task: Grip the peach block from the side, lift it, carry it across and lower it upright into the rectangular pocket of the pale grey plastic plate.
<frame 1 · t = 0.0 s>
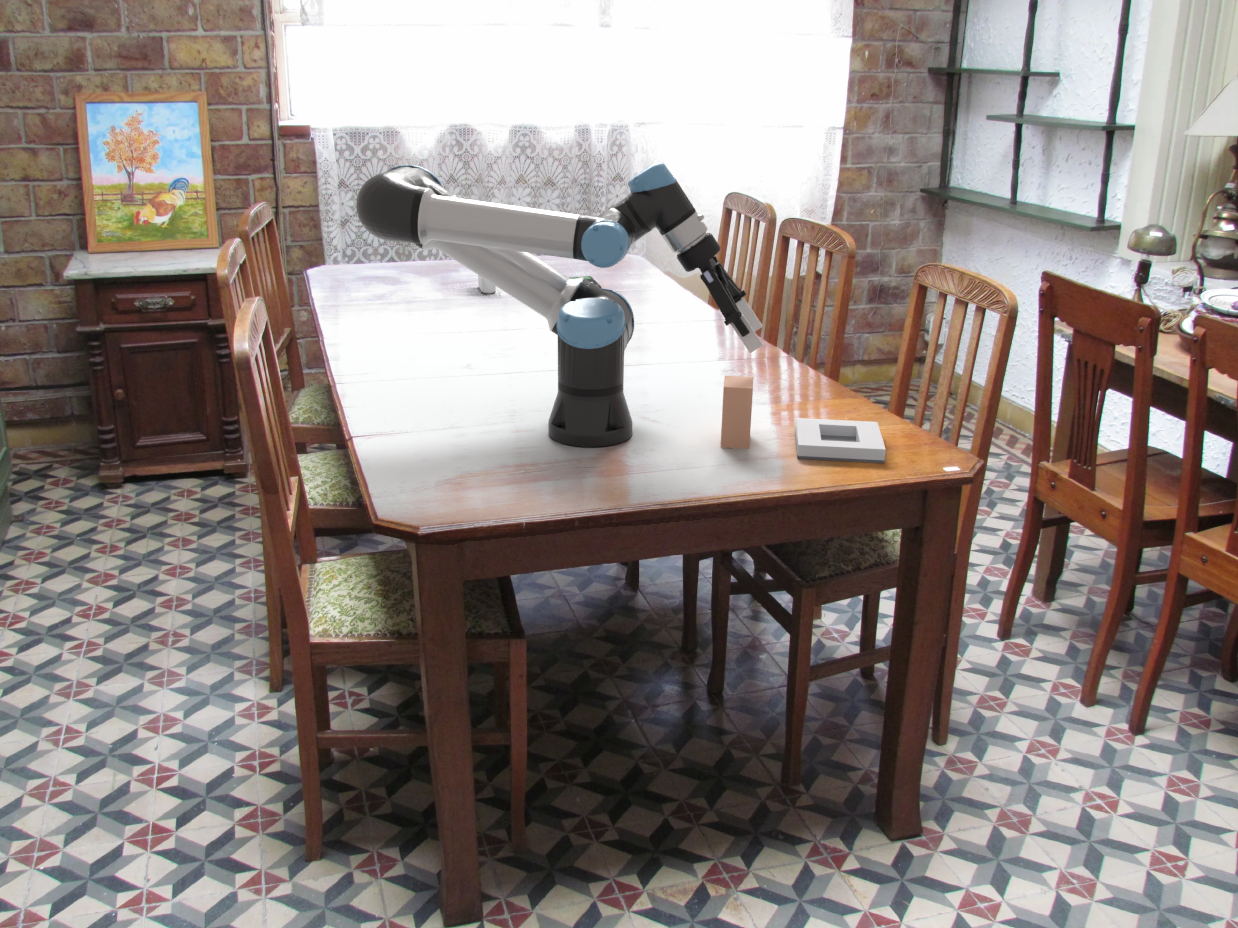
hand: (756, 339, 209), 15 cm above the table, tool tilted 35°, fingers open, 13 cm apart
disk drive: (578, 292, 319), on the table
pocket plate: (837, 446, 201), on the table
peach block: (735, 441, 202), on the table
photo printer: (487, 290, 317), on the table
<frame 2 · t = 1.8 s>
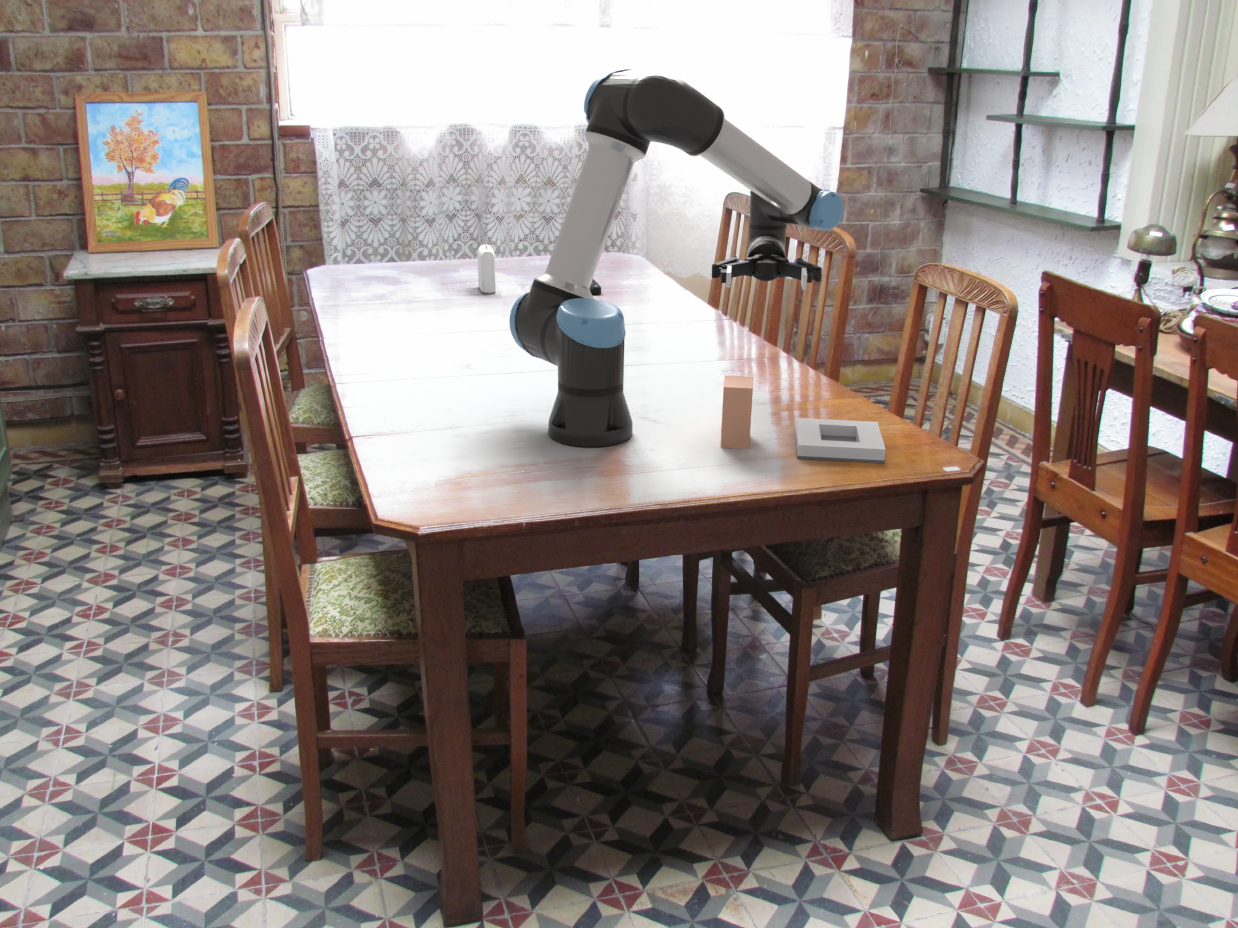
hand: (766, 281, 204), 26 cm above the table, tool horizontal, fingers open, 13 cm apart
nothing on the table moved.
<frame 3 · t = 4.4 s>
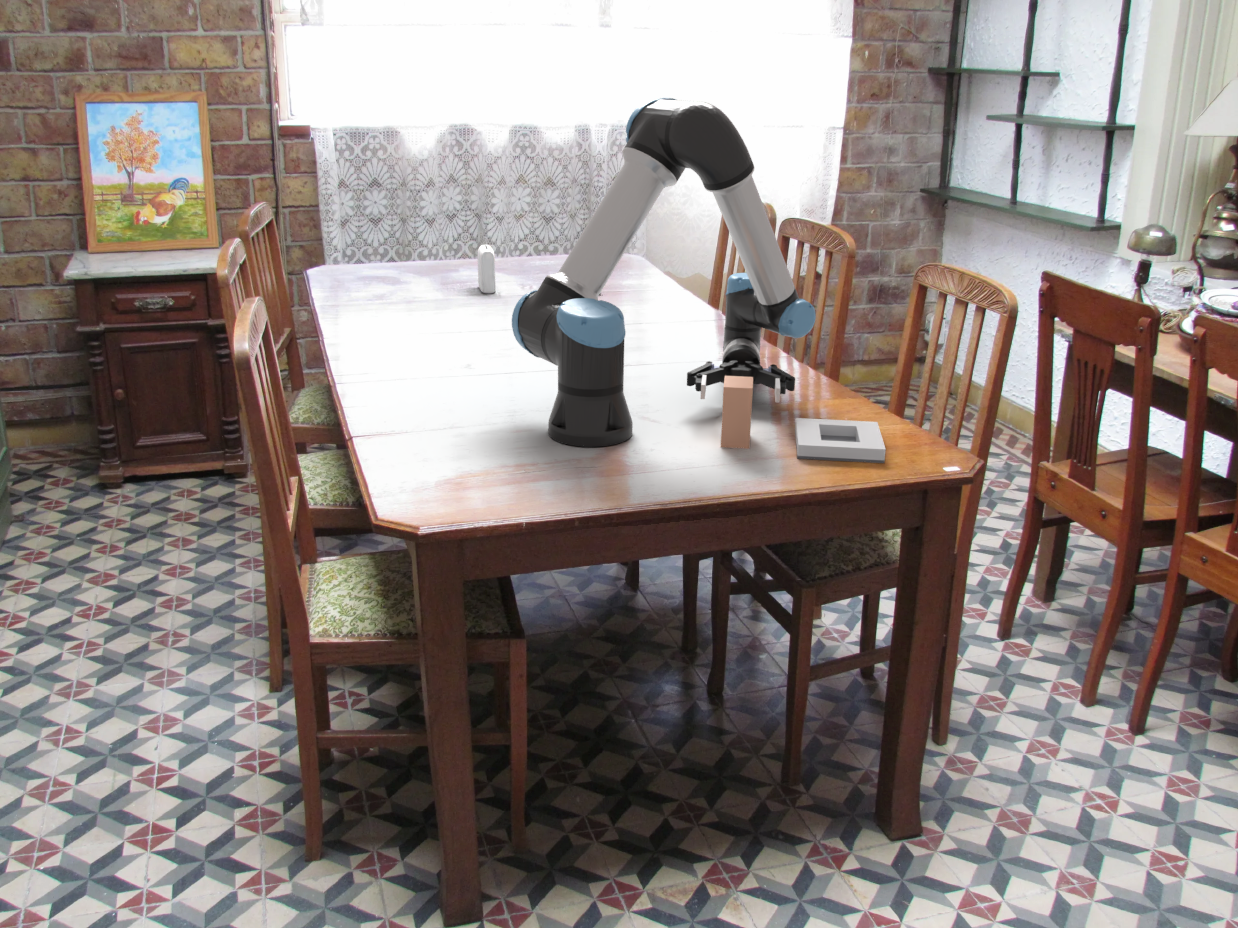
hand: (740, 393, 207), 6 cm above the table, tool horizontal, fingers open, 13 cm apart
nothing on the table moved.
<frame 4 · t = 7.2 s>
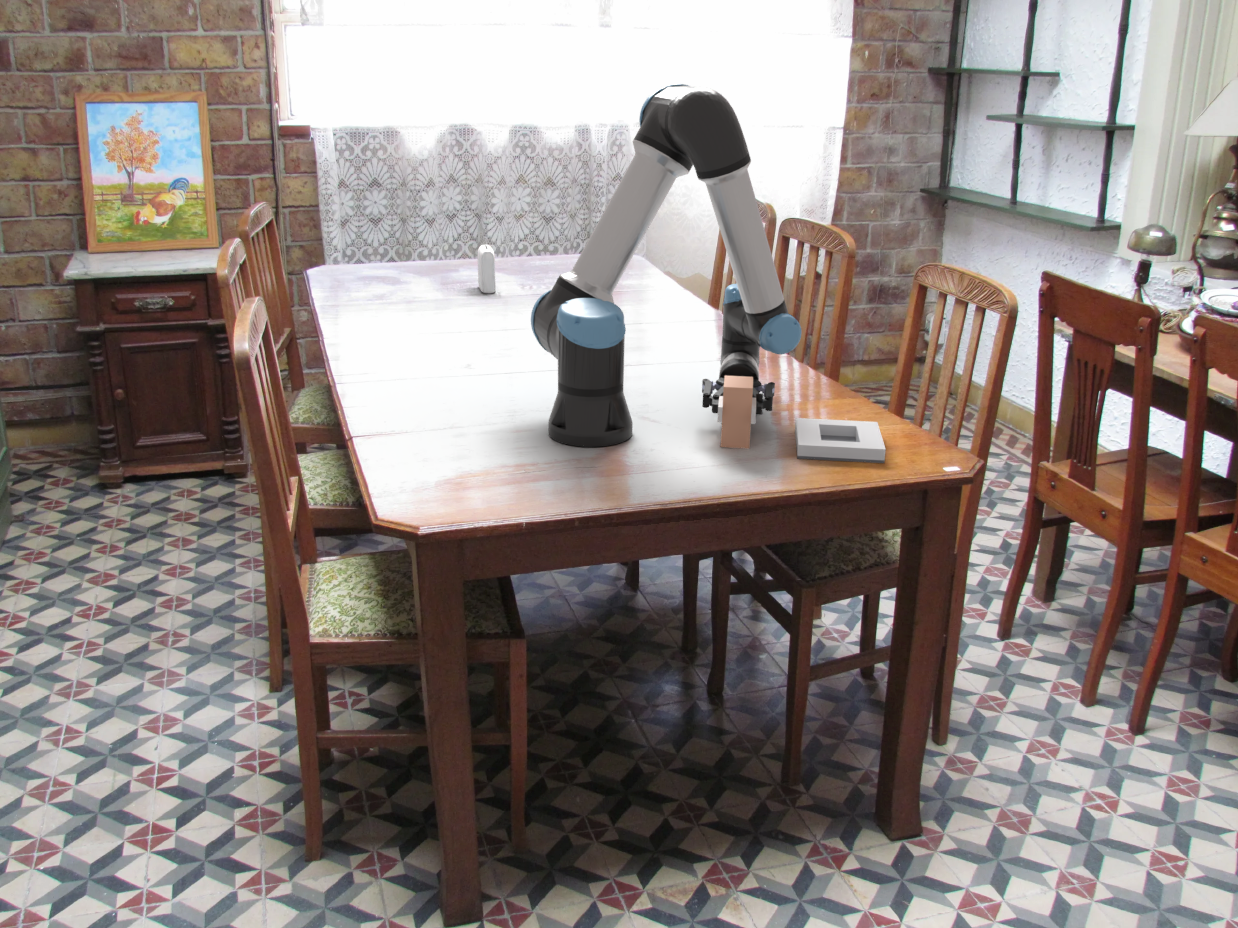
hand: (736, 415, 195), 7 cm above the table, tool horizontal, fingers closed on peach block, 5 cm apart
peach block: (735, 441, 202), on the table, touching gripper
everything else where it was.
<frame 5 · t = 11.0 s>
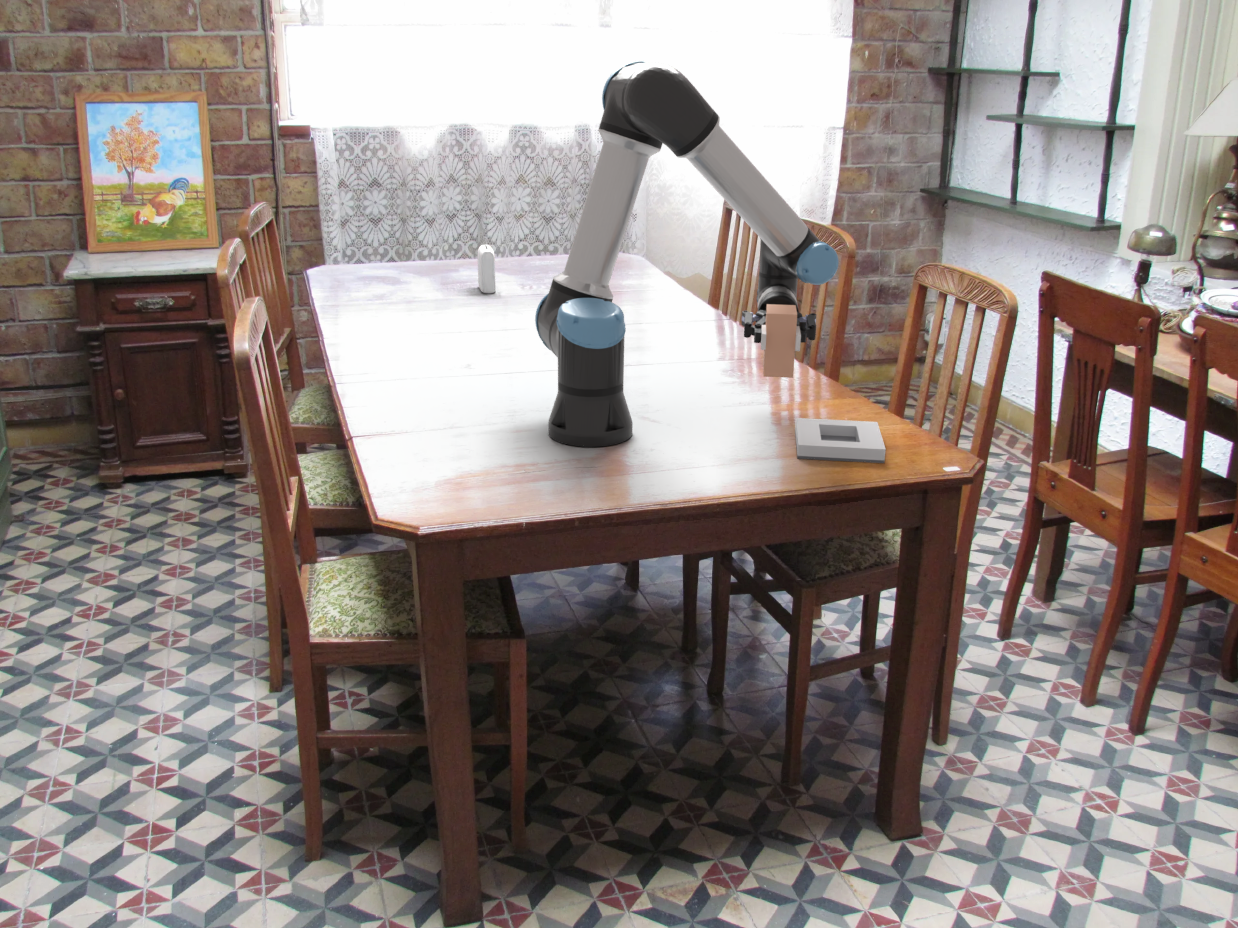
hand: (780, 342, 191), 19 cm above the table, tool horizontal, fingers closed on peach block, 5 cm apart
peach block: (777, 371, 198), point 13 cm above the table, touching gripper
everything else where it was.
when the fingers open (8 cm above the table, at t = 15.2 s): peach block stays where it is, resting on pocket plate.
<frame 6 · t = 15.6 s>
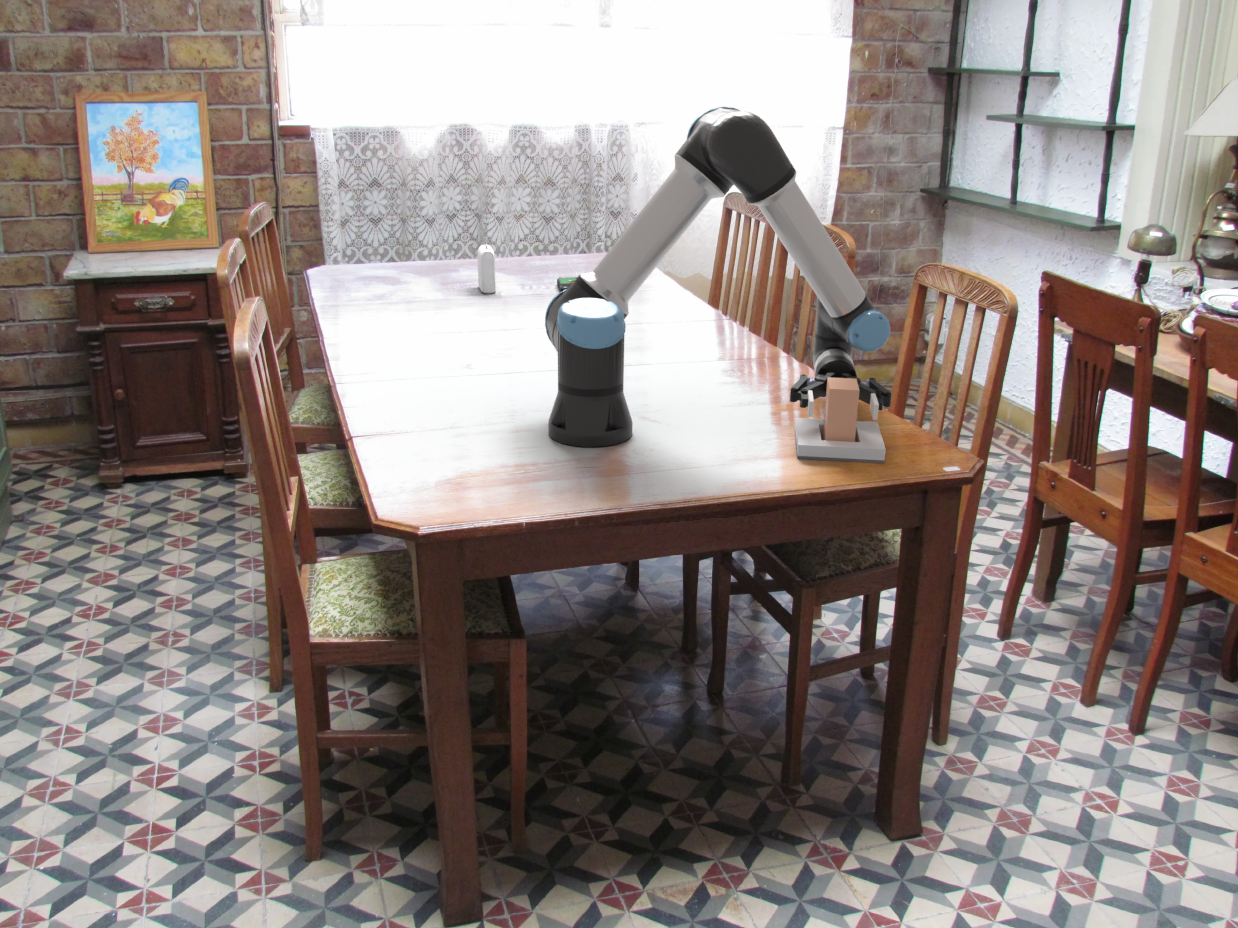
hand: (843, 410, 194), 8 cm above the table, tool horizontal, fingers open, 10 cm apart
peach block: (837, 443, 200), resting on pocket plate
everything else where it was.
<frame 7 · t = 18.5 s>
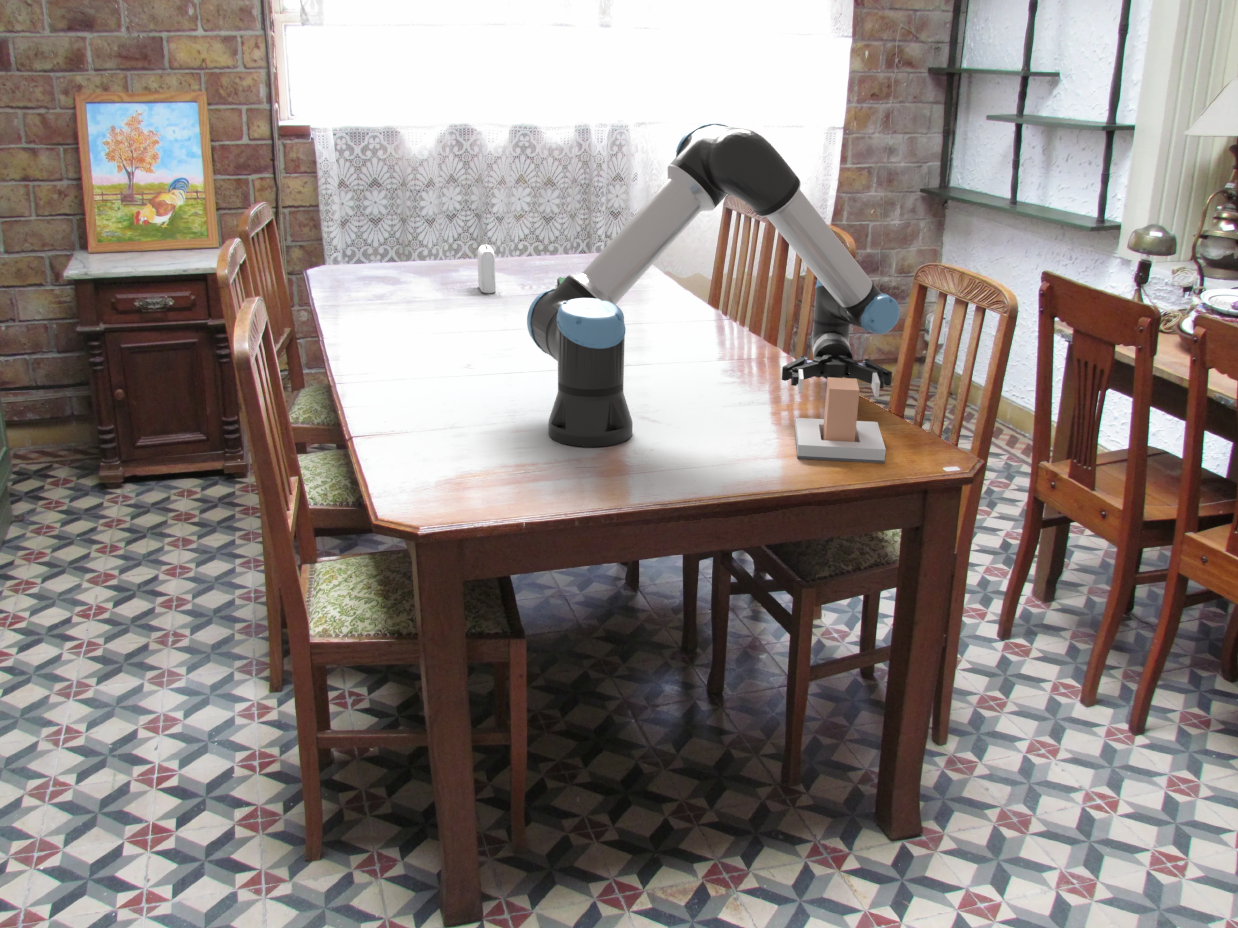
hand: (839, 388, 206), 8 cm above the table, tool horizontal, fingers open, 13 cm apart
nothing on the table moved.
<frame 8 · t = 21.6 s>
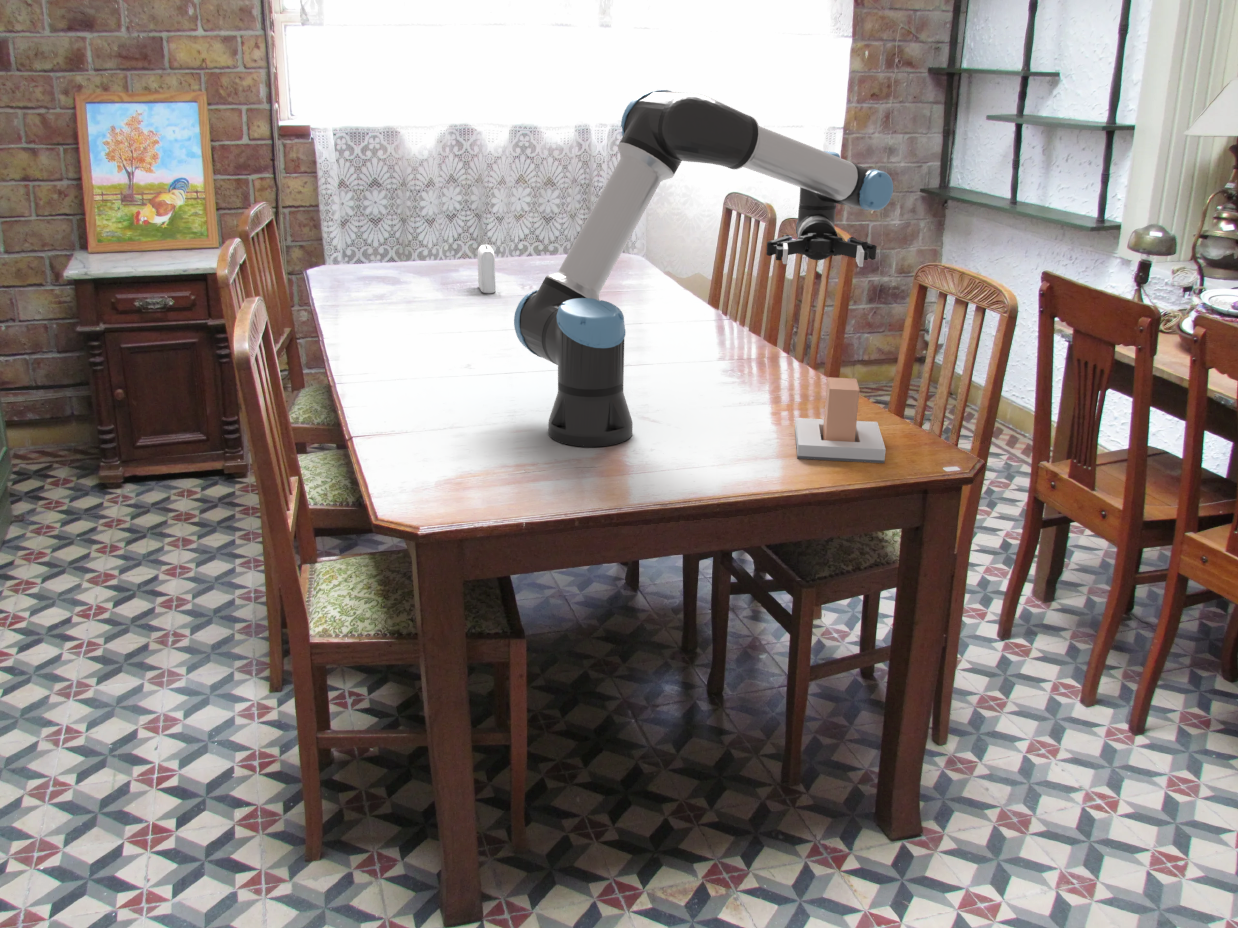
hand: (823, 258, 206), 30 cm above the table, tool horizontal, fingers open, 13 cm apart
nothing on the table moved.
at the end: peach block 0.1 cm off-centre on the pocket plate, point 0.5 cm above the pocket plate's base; peach block tilted 0°; the gripper is holding nothing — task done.
